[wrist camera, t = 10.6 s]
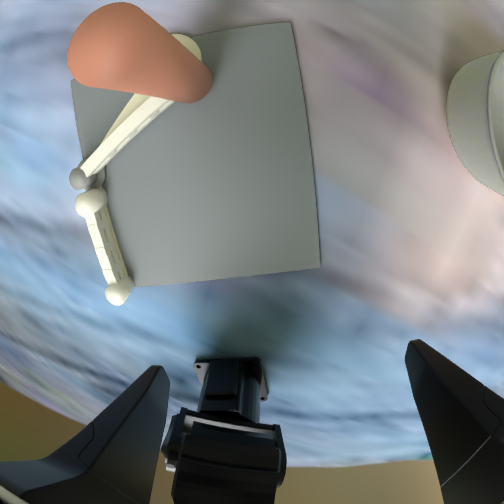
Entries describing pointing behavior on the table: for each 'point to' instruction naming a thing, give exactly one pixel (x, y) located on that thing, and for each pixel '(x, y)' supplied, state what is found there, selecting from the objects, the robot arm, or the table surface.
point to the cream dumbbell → (104, 244)
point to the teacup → (479, 118)
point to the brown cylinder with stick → (132, 73)
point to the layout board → (212, 167)
